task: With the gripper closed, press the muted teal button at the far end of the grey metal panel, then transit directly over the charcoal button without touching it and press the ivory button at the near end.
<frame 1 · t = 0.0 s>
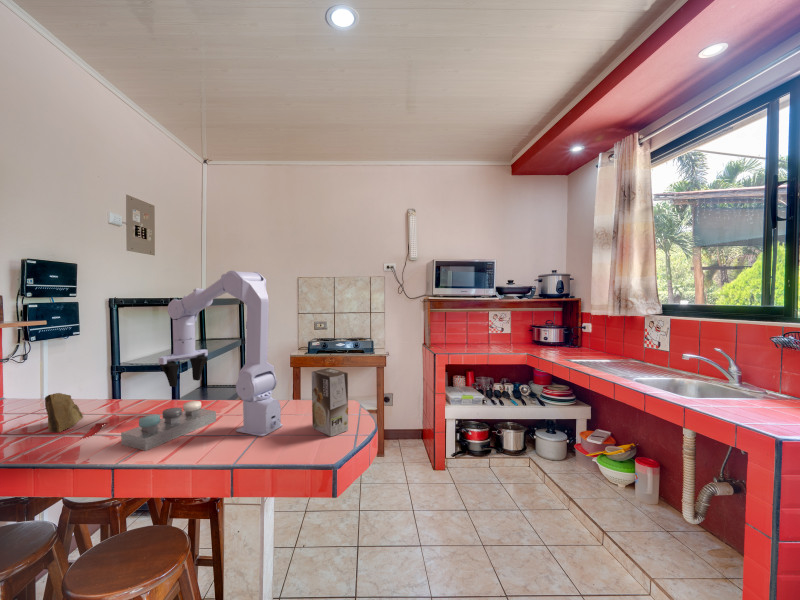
hand: (185, 383, 107), 10 cm above the counter, fingers open, 7 cm apart
rock: (68, 425, 100), on the counter
cayenne pepper: (94, 433, 96), on the counter
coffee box: (330, 429, 97), on the counter
button charcoal: (172, 417, 95), point 4 cm above the counter, slide at 0.0 cm
panel: (172, 432, 95), on the counter
button ivory: (192, 409, 100), point 4 cm above the counter, slide at 0.0 cm
button teal: (149, 425, 89), point 4 cm above the counter, slide at 0.0 cm
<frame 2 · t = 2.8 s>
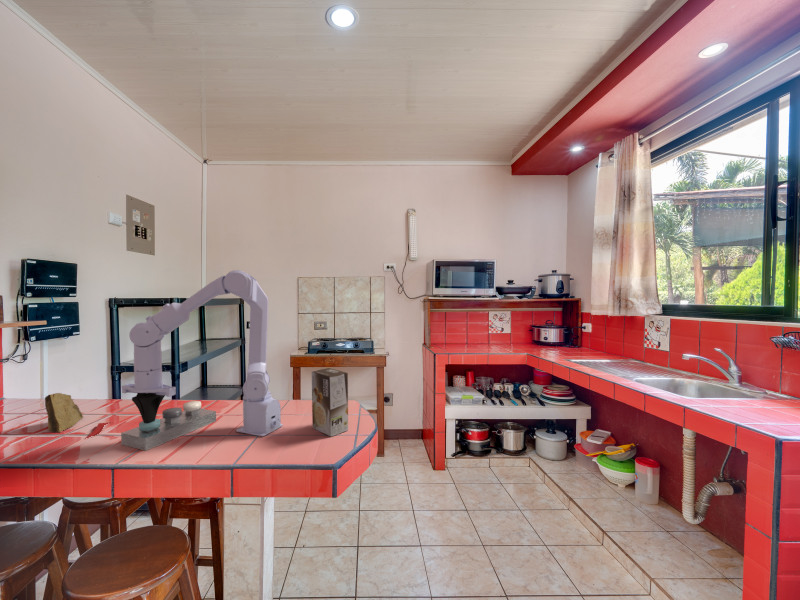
hand: (149, 421, 89), 5 cm above the counter, fingers closed, pressing on button teal
button teal: (149, 428, 89), point 3 cm above the counter, slide at 1.0 cm, touching gripper
everything else where it was.
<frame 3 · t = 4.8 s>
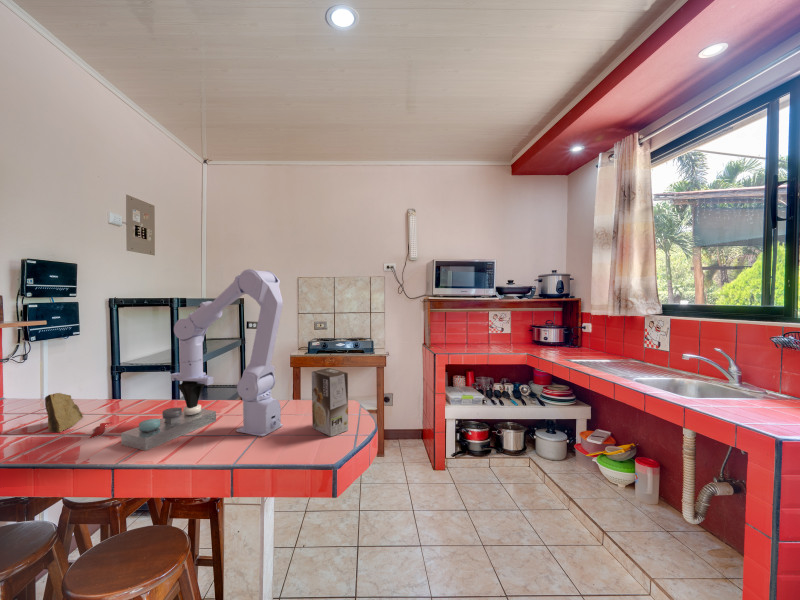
hand: (192, 407, 100), 5 cm above the counter, fingers closed, pressing on button ivory
button ivory: (192, 413, 100), point 3 cm above the counter, slide at 1.0 cm, touching gripper
button teal: (149, 428, 89), point 3 cm above the counter, slide at 1.0 cm
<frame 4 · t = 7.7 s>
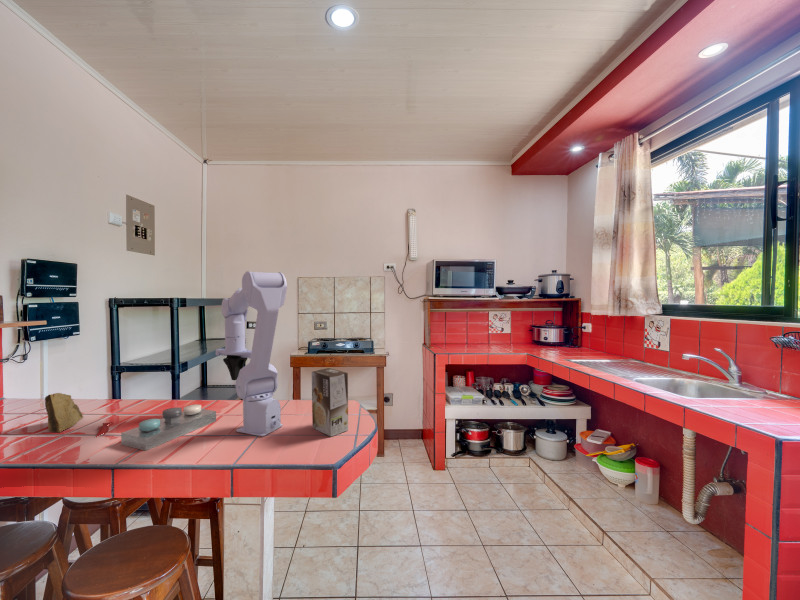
hand: (235, 379, 110), 10 cm above the counter, fingers closed
button ivory: (192, 413, 100), point 3 cm above the counter, slide at 1.0 cm
at the end: button teal slide at 1.0 cm; button ivory slide at 1.0 cm; button charcoal slide at 0.0 cm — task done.
